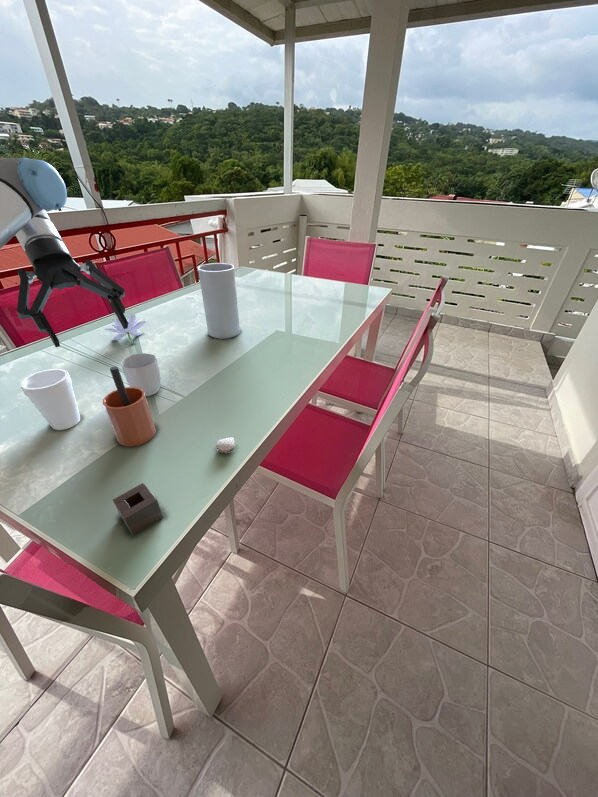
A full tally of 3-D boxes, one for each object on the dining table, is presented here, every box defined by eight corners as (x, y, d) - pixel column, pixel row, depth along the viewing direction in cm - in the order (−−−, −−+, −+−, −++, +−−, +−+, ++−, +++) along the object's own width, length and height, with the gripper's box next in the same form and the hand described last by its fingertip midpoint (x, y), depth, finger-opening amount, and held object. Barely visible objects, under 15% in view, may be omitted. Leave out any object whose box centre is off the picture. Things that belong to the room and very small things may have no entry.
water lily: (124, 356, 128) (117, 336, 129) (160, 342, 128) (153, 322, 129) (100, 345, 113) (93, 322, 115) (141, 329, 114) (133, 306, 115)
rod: (131, 433, 80) (107, 369, 70) (136, 429, 81) (113, 365, 71) (136, 435, 79) (113, 370, 69) (141, 431, 81) (119, 367, 70)
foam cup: (94, 419, 85) (76, 375, 78) (57, 439, 79) (32, 394, 71) (74, 407, 89) (55, 365, 82) (37, 425, 83) (12, 381, 75)
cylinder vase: (214, 342, 124) (203, 273, 110) (204, 330, 133) (193, 265, 119) (245, 335, 129) (239, 268, 115) (233, 324, 138) (226, 261, 124)
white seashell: (213, 452, 76) (211, 444, 74) (225, 439, 79) (224, 431, 78) (229, 457, 74) (228, 449, 73) (241, 444, 78) (240, 436, 77)
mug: (158, 399, 93) (150, 368, 87) (126, 399, 92) (115, 368, 87) (171, 376, 103) (164, 347, 98) (141, 376, 103) (133, 347, 97)
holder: (120, 516, 61) (112, 499, 58) (149, 499, 65) (143, 482, 62) (133, 536, 58) (125, 519, 55) (163, 517, 61) (157, 499, 59)
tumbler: (109, 440, 78) (93, 403, 72) (136, 420, 85) (123, 384, 79) (138, 450, 76) (124, 412, 70) (163, 428, 82) (152, 391, 76)
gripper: (106, 251, 80) (148, 327, 80) (-26, 268, 66) (26, 360, 66) (107, 229, 74) (153, 311, 74) (-38, 243, 60) (20, 344, 60)
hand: (93, 334), depth 70 cm, fingers open, 13 cm apart
